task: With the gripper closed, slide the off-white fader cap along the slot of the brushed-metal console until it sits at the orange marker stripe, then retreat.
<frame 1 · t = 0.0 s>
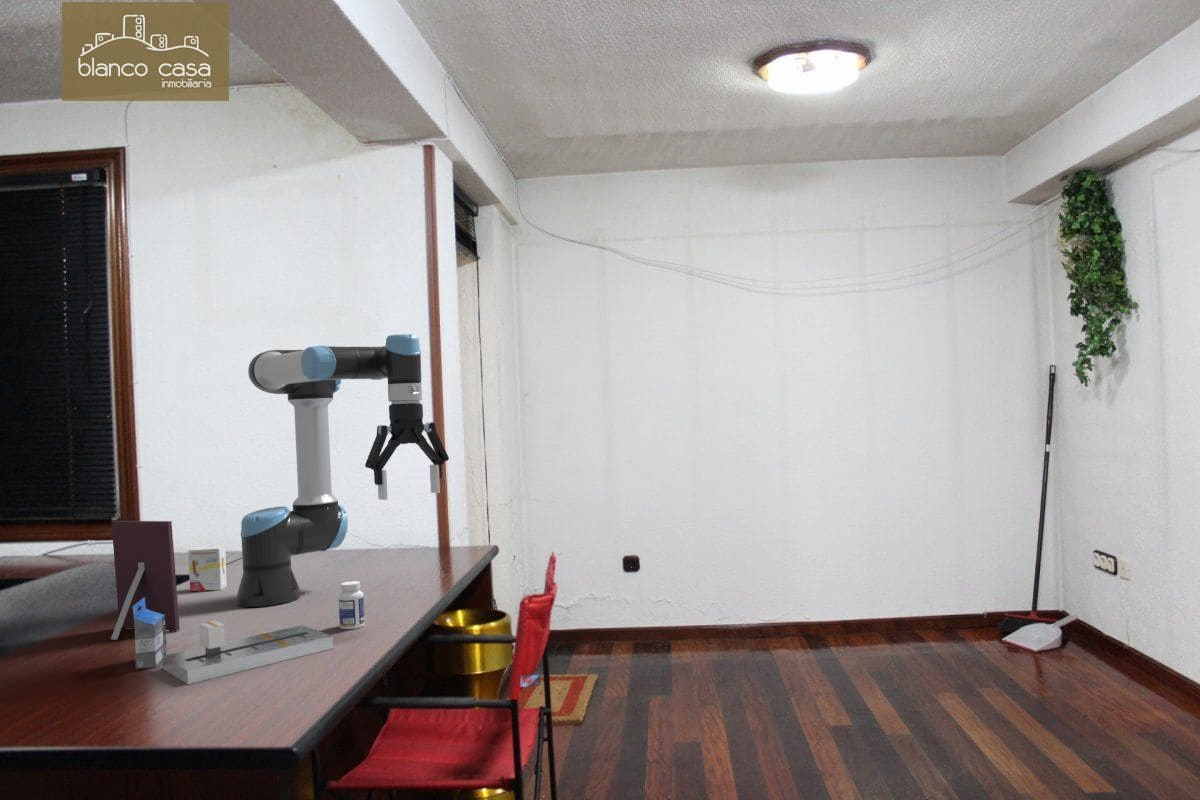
hand: (409, 496, 196), 28 cm above the table, fingers open, 13 cm apart
fader knob: (212, 644, 166), point 4 cm above the table, slide at -7.0 cm
picture frame: (133, 635, 194), on the table
pill bottle: (352, 627, 193), on the table
ink box: (208, 590, 241), on the table
console: (250, 658, 171), on the table
label tape cartridge: (151, 663, 171), on the table
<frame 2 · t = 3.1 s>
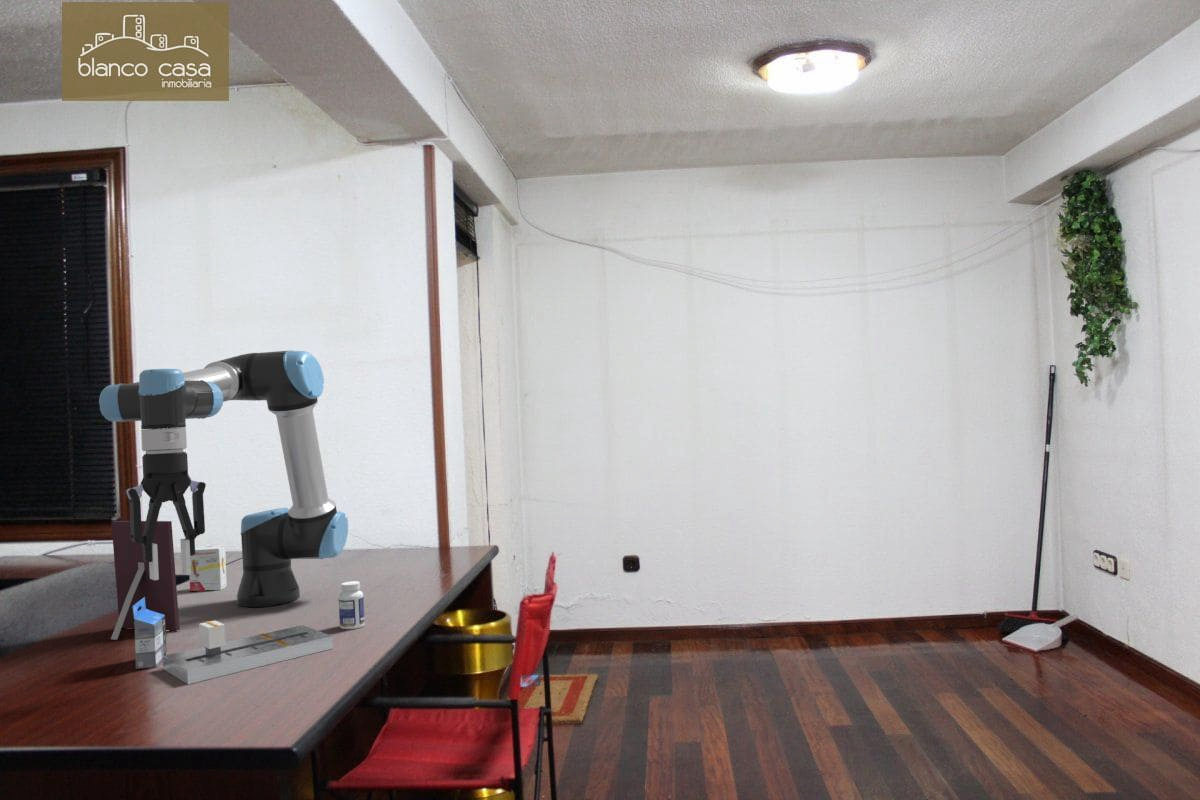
hand: (170, 576, 161), 19 cm above the table, fingers open, 5 cm apart
nothing on the table moved.
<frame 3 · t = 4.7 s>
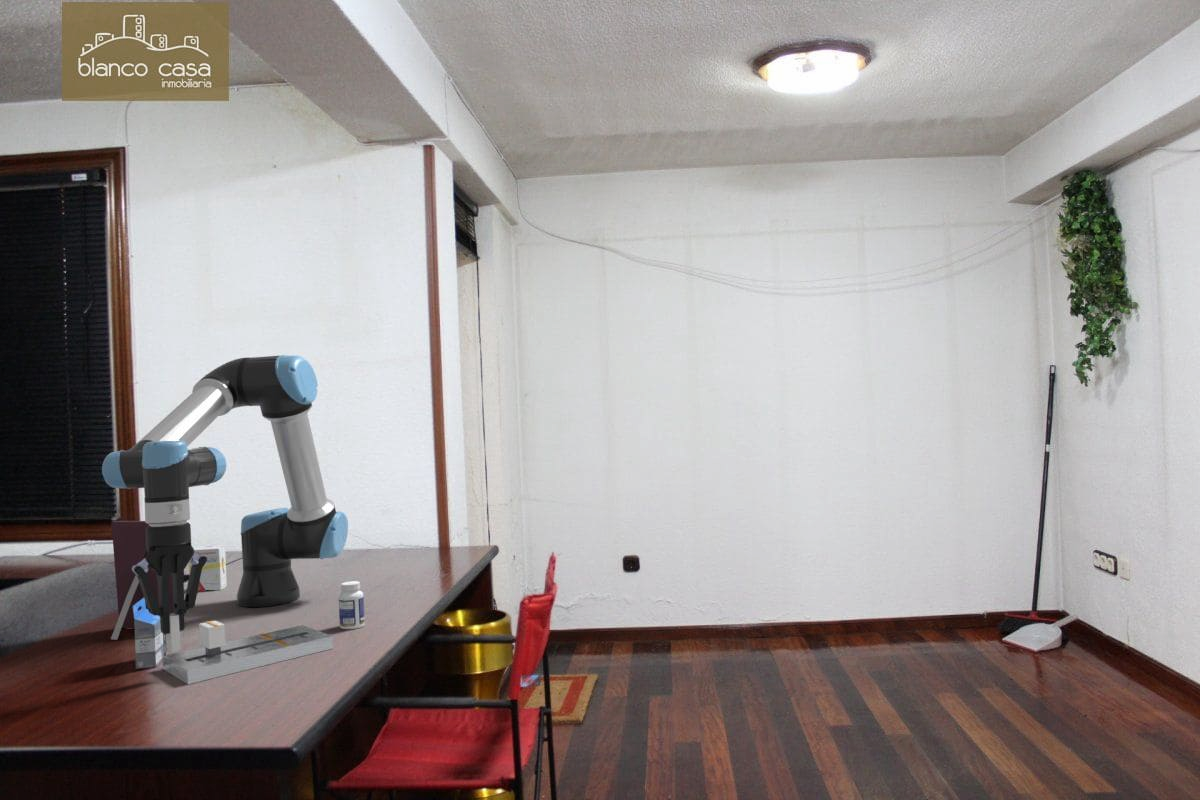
hand: (173, 649, 161), 5 cm above the table, fingers closed
nothing on the table moved.
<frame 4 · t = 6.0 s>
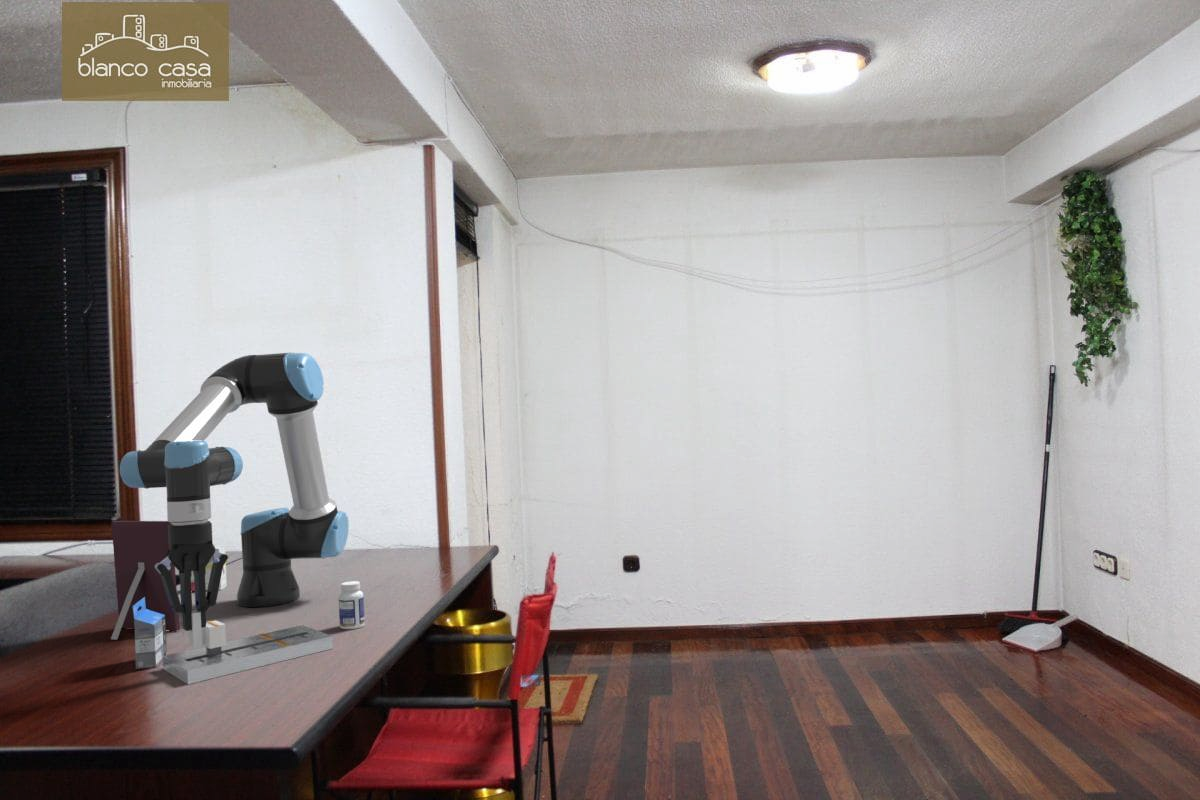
hand: (195, 646, 164), 5 cm above the table, fingers closed
fader knob: (213, 644, 166), point 4 cm above the table, slide at -6.8 cm, touching gripper
everything else where it was.
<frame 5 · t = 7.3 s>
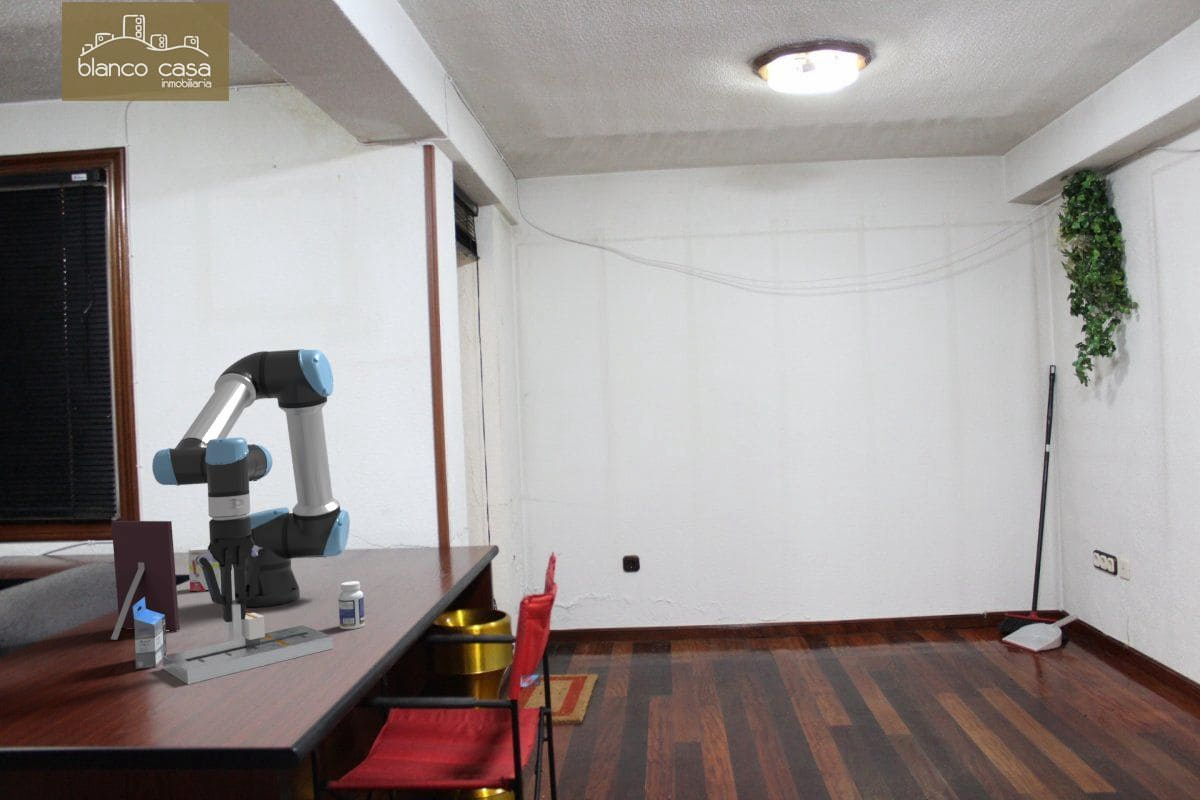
hand: (235, 637, 169), 5 cm above the table, fingers closed
fader knob: (252, 635, 171), point 4 cm above the table, slide at 0.6 cm, touching gripper
everything else where it was.
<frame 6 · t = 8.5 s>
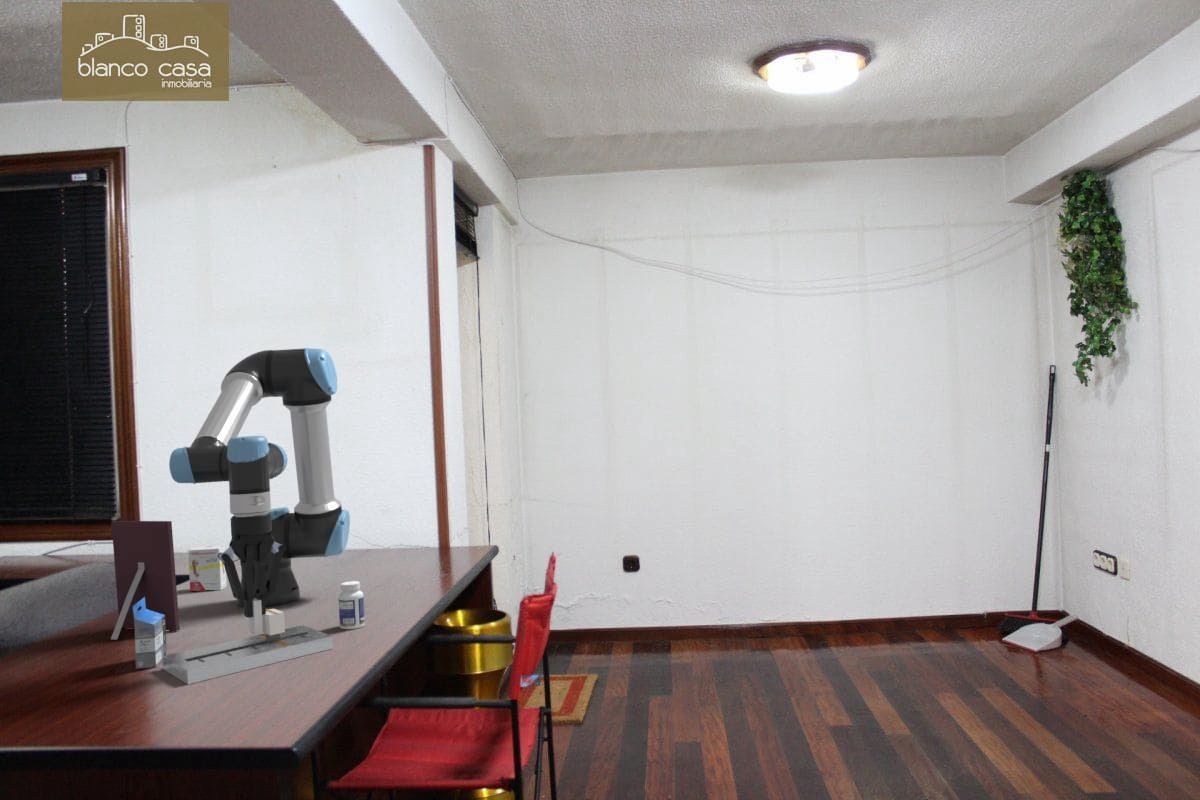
hand: (256, 632, 172), 5 cm above the table, fingers closed
fader knob: (272, 631, 174), point 4 cm above the table, slide at 4.6 cm, touching gripper
everything else where it was.
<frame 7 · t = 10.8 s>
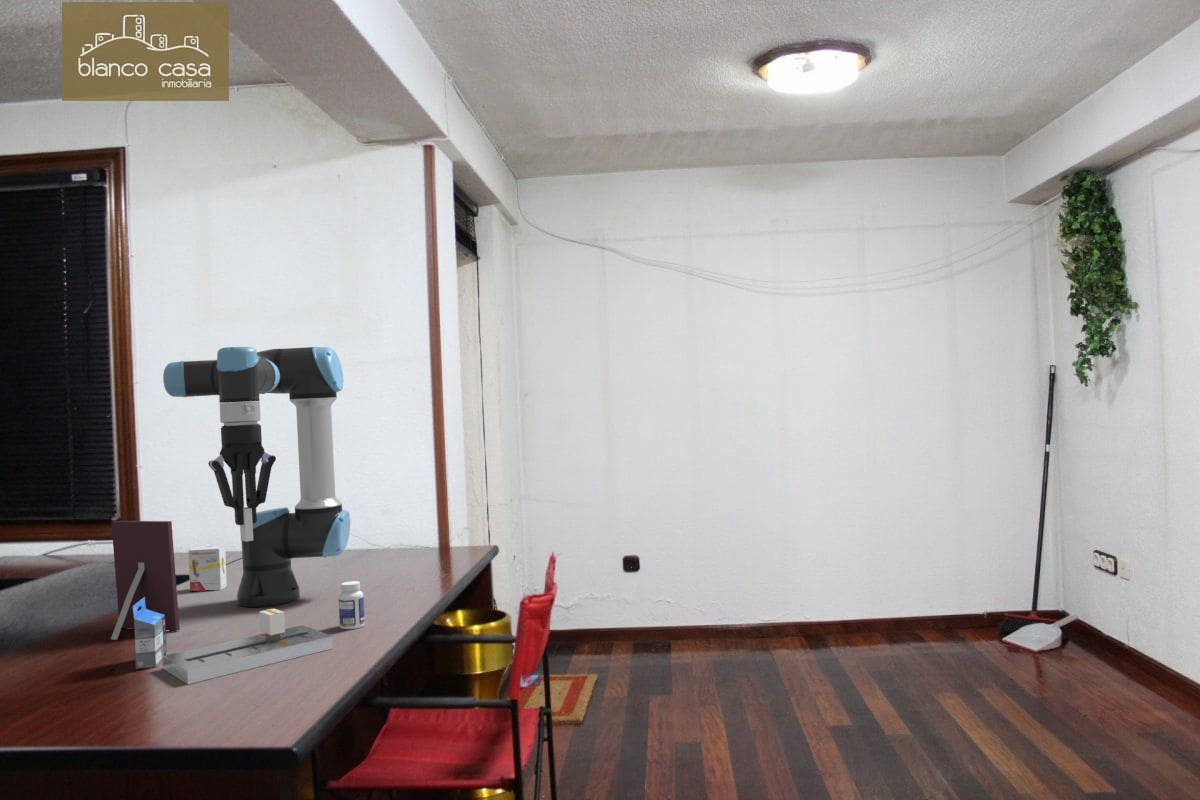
hand: (247, 540, 175), 23 cm above the table, fingers closed
fader knob: (272, 631, 174), point 4 cm above the table, slide at 4.7 cm
everything else where it was.
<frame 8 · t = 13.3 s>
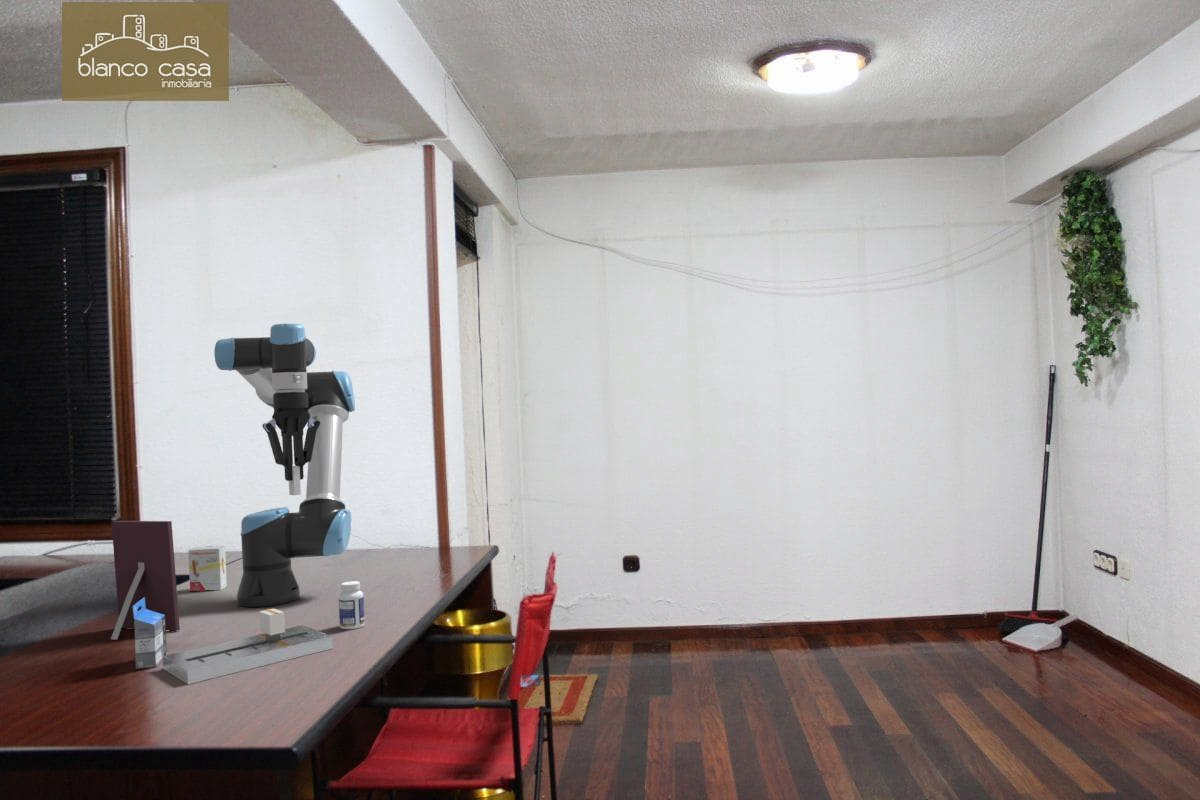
hand: (295, 494, 198), 29 cm above the table, fingers closed
nothing on the table moved.
at the end: fader knob slide at 4.7 cm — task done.
